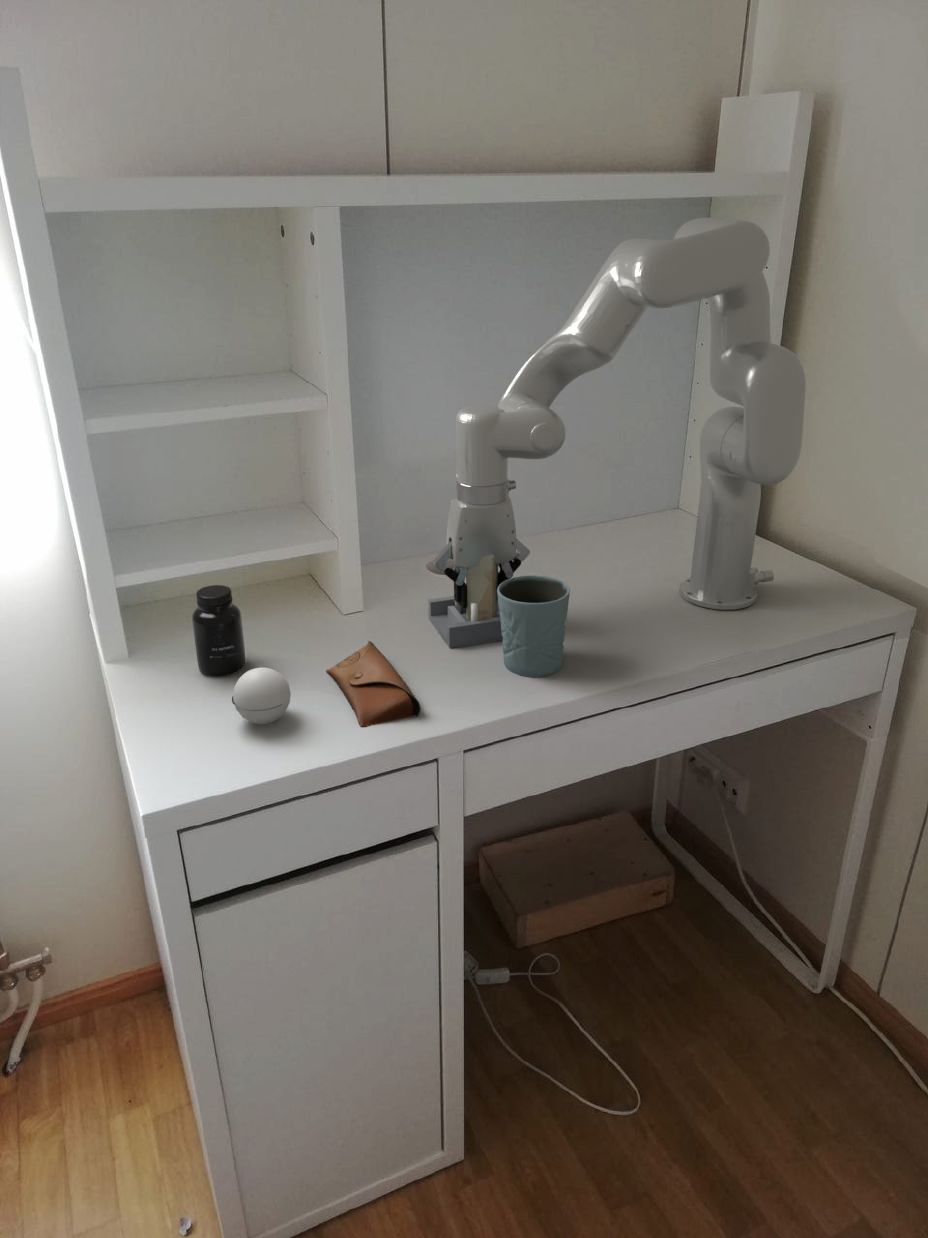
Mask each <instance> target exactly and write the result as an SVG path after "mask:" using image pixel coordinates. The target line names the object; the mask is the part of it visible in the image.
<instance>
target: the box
mask: <svg viewBox="0 0 928 1238" xmlns="http://www.w3.org/2000/svg"><path fill="white" fill-rule="evenodd" d="M498 572H499V566H498V564H495V559H494V555H487V556H484V557H481V560H480V562H479V564H478V566H475V567H470V568H469V570H468V572H467V575H466V577H465V581H466V582H465V584H466V585H467V621H471V603H477V604H478V620H481V619H488V618H495V617H496V614H497V612H498V594H497V589H498Z"/></svg>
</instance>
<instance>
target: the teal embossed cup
mask: <svg viewBox="0 0 928 1238" xmlns="http://www.w3.org/2000/svg"><path fill="white" fill-rule="evenodd" d="M570 593H571V589H570V586H569V585H568V584H567V583H565V582H564V581H562V580H560V579H559V578H555V577H552V576H545V575H536V574H535V575H533V574H531V575H521V576H514V577H512V578H510V579H508V580H506V581H504V582H502V583H501V584H500V585H499V587H498V589H497V594H498V603H499V610H500V618H501V621H500V622H501V631H502V633H501V635H502V637H503V640H502V653H503V658H502V659H503V664H504V666H505V668H506V670H508V671H509V672H510V673H512V674H515V675H517V676H521V677H527V678H540V677H541V678H544V677H546V676H548V677H549V676H550V675H553V674H556V673H557V672H558V671H559V670H560V669H561V668H562V665H563V660H564V659H563V658H564V647H565V646H564V642H565V638H566V628H567V626H566V621H567V617H568V611H569V610H568V609H569V601H570Z"/></svg>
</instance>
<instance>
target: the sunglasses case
mask: <svg viewBox="0 0 928 1238" xmlns="http://www.w3.org/2000/svg"><path fill="white" fill-rule="evenodd" d="M325 672H326V674H327V675H328V676H330V678H332V680H333V681H335V683H336V685H337V686H338V688H339V689H340V690H341V692H342V694H343V696H344V697H345V698H346V700H347V702H348V704H349V705H350V707H351V709H352V710H353V712H354V715H355V716H356V718H357V719H356V720H357V723H358V724H359V726H360V728H368V727H372V726H375V725H380V724H384V723H389V722H393V721H398V720H404V719H409V718H411V717H414V716H415V717H418V716H419V715H420V713H421V704H420V701H418V699H417V697H415V695H414V694H413V692H412V690H411V689H410V687H409V686H408V685H407V683H406V682H405V680H404V679H403V677H401V676H400V674H399V673H398V671H397V670H396V669H395V667H393V665H392V664H391V663H390V661H389V660H388V658H386V656H385V655H384V654H383V653H382V652H381V651H380V650H379V649H378V647H377V646H376V645H375V644H374V643H373V642H372V641H371V640H370V641H367V644H366V645H365V646H362V647H361V648H360V649H358V650H357V651H355V652H353V653H351V654H350V655H349V656H347V657H345V658H344V659H342V660H341V661H339V662H337V663H336V664H335V665H334V666H332V667H331V668H328V669H327V668H326V669H325Z"/></svg>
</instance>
